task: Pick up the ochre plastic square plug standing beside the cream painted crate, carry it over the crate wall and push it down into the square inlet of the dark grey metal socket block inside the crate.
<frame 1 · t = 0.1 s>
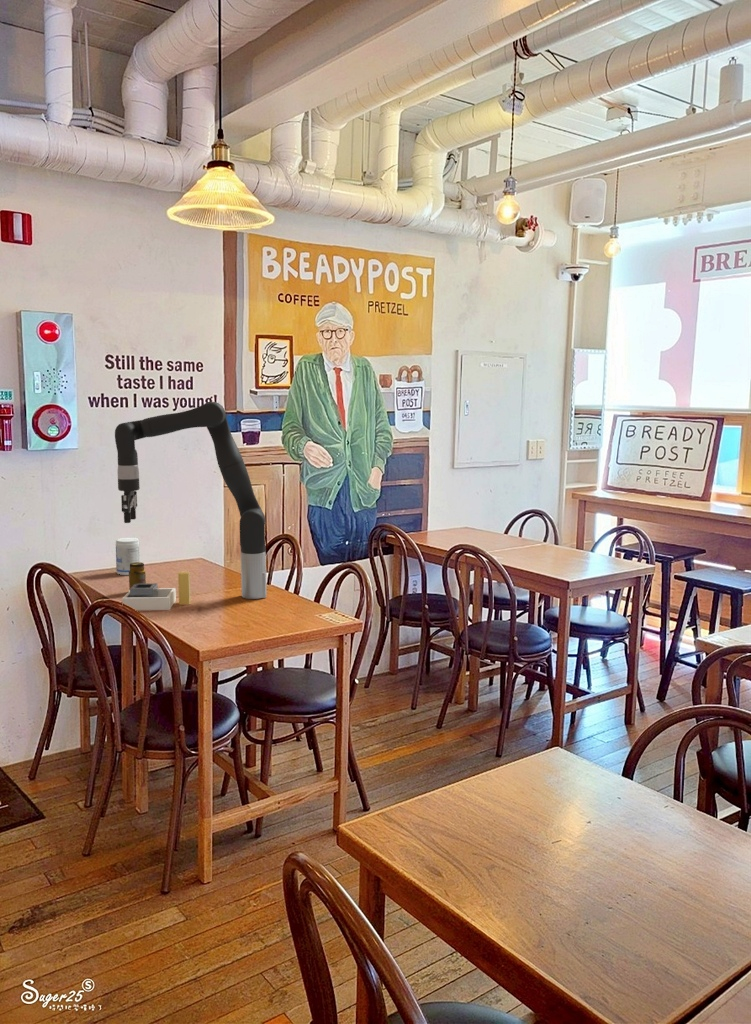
hand: (130, 521, 299), 29 cm above the table, fingers open, 8 cm apart
supplement tub: (128, 573, 344), on the table
condiment: (138, 595, 309), on the table
plug: (185, 604, 294), on the table
crate: (150, 606, 292), on the table
socket: (144, 605, 291), resting on crate
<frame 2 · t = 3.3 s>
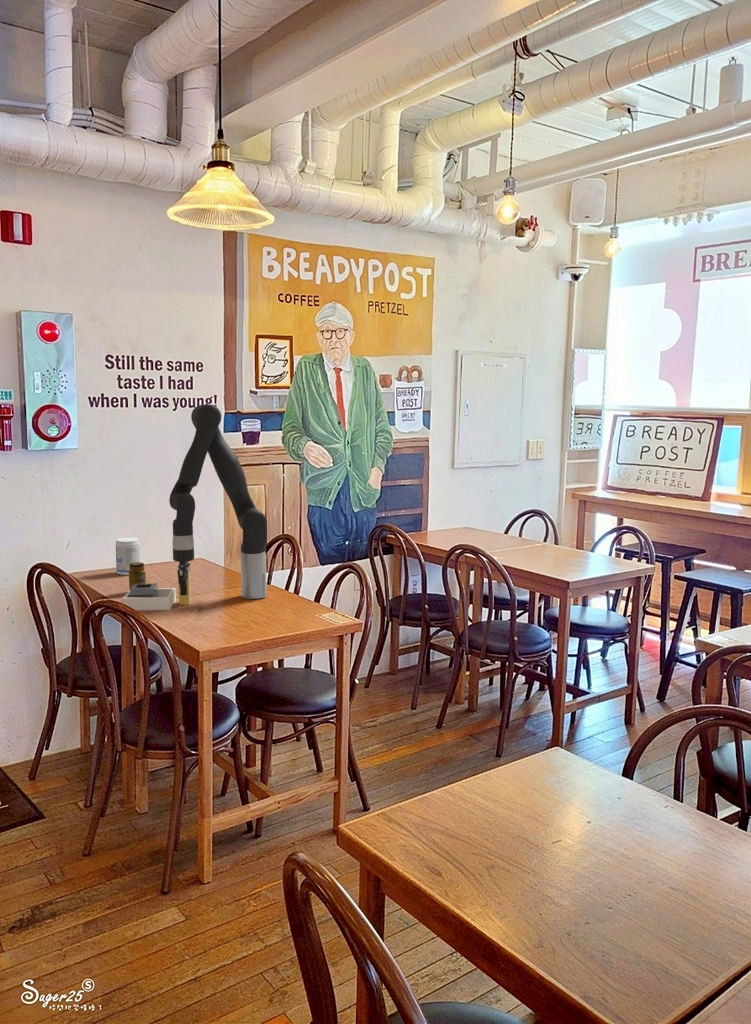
hand: (184, 593, 294), 4 cm above the table, fingers closed on plug, 3 cm apart
plug: (185, 604, 294), on the table, touching gripper
everything else where it was.
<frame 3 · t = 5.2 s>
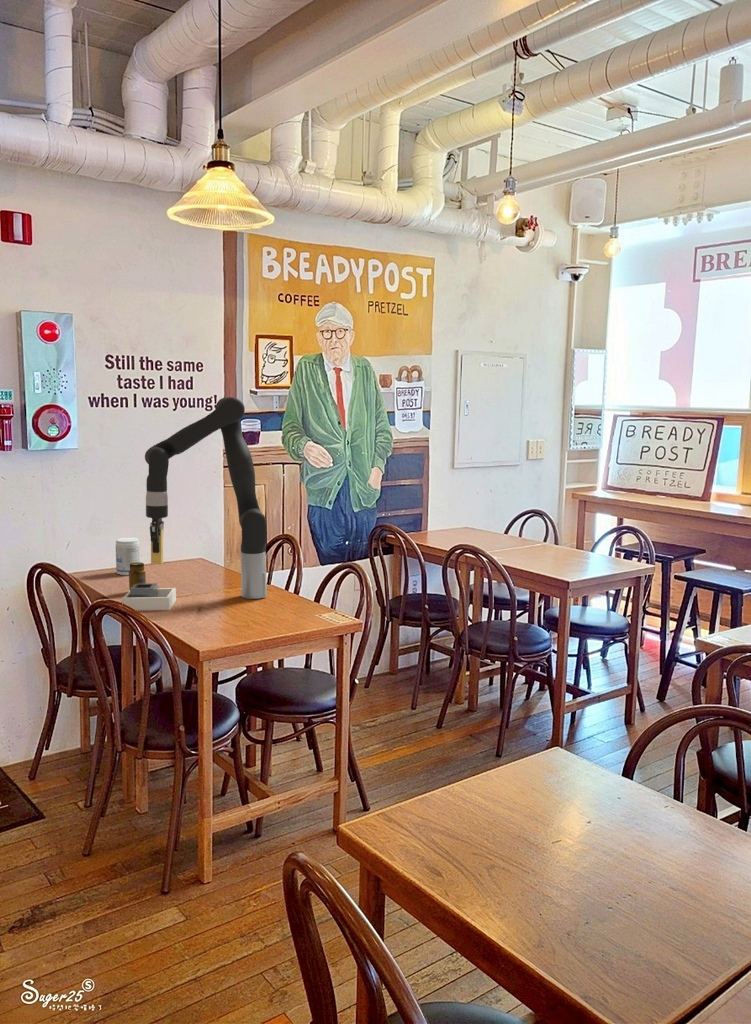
hand: (157, 551, 289), 20 cm above the table, fingers closed on plug, 3 cm apart
plug: (157, 562, 290), point 16 cm above the table, touching gripper
everything else where it was.
when the fingers open (10 cm above the table, at t = 7.3 s): plug drops 2 cm, resting on socket.
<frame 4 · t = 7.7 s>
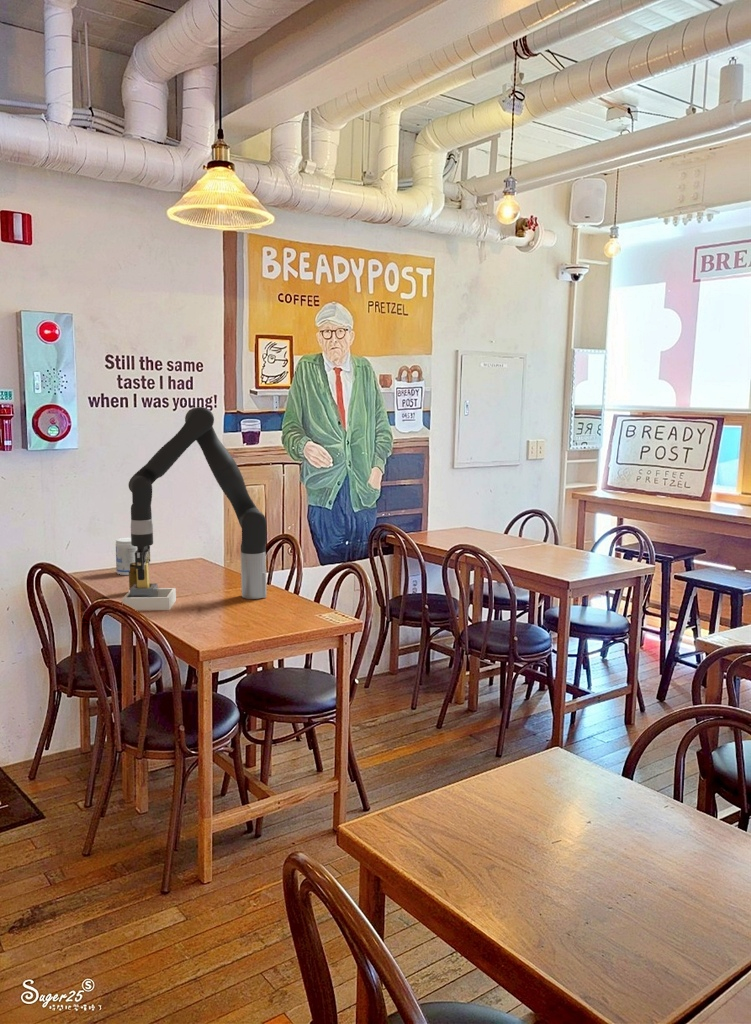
hand: (143, 577, 290), 11 cm above the table, fingers open, 7 cm apart
plug: (144, 596, 291), point 4 cm above the table, touching socket
everything else where it was.
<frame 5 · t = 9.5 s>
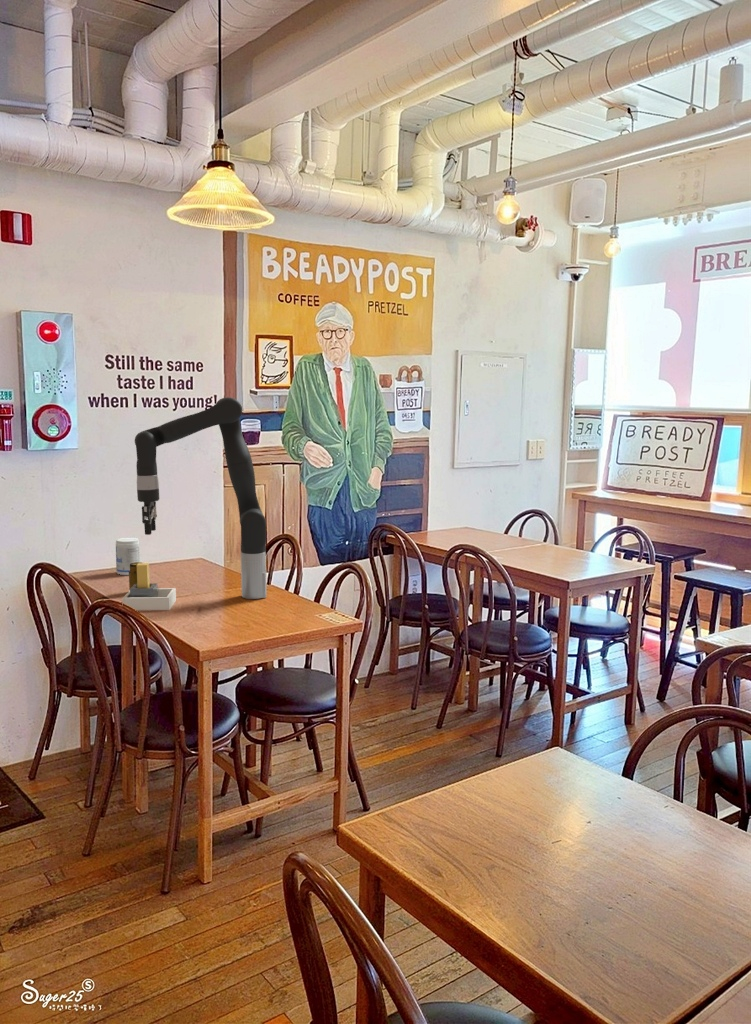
hand: (150, 532, 291), 26 cm above the table, fingers open, 8 cm apart
nothing on the table moved.
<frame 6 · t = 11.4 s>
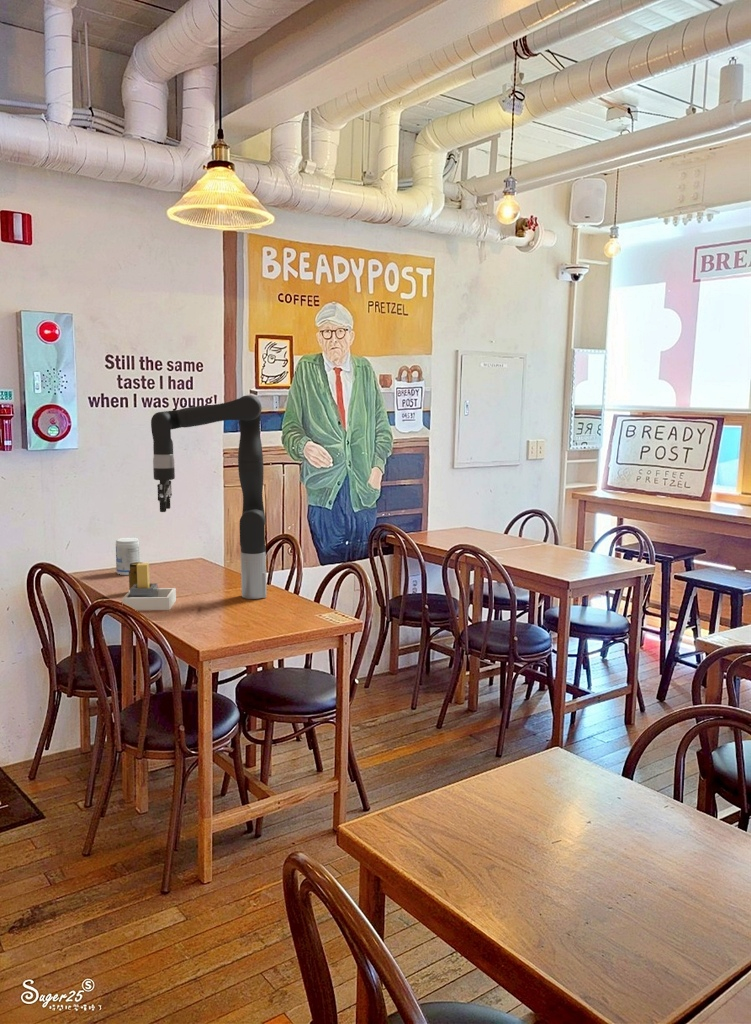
hand: (165, 510, 300), 33 cm above the table, fingers open, 8 cm apart
nothing on the table moved.
at the end: plug 0.1 cm off-centre on the socket, point 3.0 cm above the socket's base; plug tilted 0°; the gripper is holding nothing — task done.
